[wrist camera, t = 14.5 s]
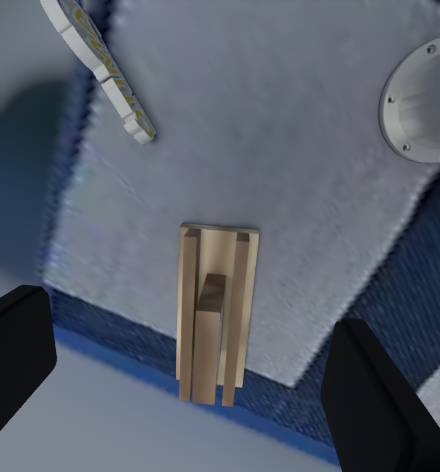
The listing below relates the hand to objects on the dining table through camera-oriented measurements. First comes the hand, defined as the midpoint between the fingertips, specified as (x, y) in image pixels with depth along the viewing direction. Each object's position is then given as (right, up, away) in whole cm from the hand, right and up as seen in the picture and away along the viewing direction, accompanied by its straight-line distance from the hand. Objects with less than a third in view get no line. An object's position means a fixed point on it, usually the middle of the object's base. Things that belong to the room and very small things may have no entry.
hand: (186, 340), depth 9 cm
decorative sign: (-11, +23, +24) cm, 35 cm away
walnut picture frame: (0, -7, +30) cm, 31 cm away
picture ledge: (0, -7, +32) cm, 33 cm away
